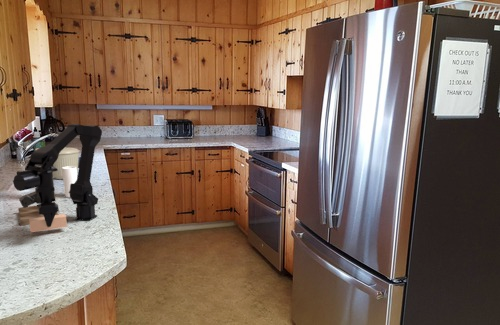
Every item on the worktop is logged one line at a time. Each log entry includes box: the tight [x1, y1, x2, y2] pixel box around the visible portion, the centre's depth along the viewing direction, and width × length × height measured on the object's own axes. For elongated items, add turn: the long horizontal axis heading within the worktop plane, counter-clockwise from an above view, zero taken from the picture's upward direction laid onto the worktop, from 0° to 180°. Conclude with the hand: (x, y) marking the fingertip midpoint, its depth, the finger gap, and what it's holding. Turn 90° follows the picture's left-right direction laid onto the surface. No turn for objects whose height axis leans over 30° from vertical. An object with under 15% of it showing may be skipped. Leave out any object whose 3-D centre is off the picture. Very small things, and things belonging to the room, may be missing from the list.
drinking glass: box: [62, 166, 78, 199], centre depth 194 cm, size 7×7×15 cm
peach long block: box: [29, 213, 68, 233], centre depth 145 cm, size 12×4×4 cm, turn 122°
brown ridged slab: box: [17, 204, 60, 227], centre depth 163 cm, size 14×18×2 cm
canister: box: [53, 146, 81, 180], centre depth 234 cm, size 18×18×21 cm
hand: (48, 225), depth 145 cm, fingers closed on peach long block, 4 cm apart
